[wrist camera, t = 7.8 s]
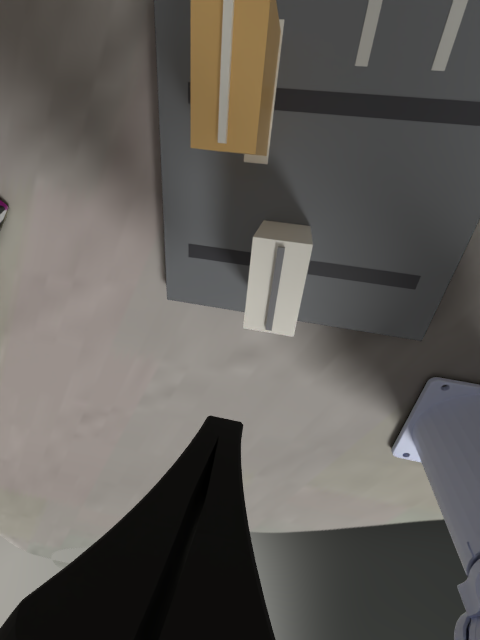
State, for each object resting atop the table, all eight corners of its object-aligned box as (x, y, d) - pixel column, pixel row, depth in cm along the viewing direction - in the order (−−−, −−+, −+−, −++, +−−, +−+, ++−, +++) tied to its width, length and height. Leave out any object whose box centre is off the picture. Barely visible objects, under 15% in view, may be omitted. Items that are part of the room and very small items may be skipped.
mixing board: (567, -7, 11) (596, -26, 10) (414, 330, 18) (421, 341, 17) (164, -18, 13) (151, -34, 12) (173, 292, 20) (166, 299, 19)
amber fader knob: (280, 31, 12) (272, -27, 8) (266, 155, 14) (254, 154, 11) (222, 28, 12) (188, -28, 9) (217, 151, 14) (188, 147, 11)
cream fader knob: (310, 226, 15) (313, 245, 12) (295, 302, 17) (293, 339, 14) (263, 220, 16) (252, 238, 12) (254, 295, 18) (242, 330, 14)
